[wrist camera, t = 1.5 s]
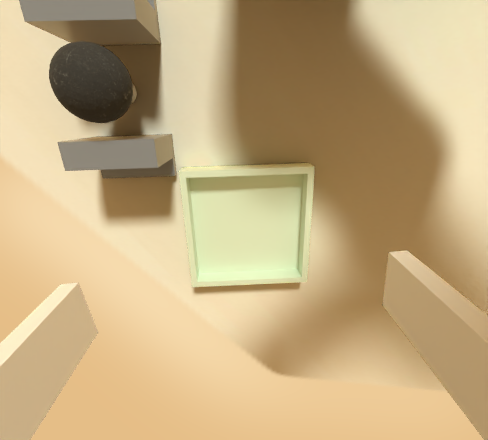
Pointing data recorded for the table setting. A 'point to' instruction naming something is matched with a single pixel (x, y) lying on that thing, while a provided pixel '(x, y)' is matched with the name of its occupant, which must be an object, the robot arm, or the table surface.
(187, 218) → the tray
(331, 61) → the table surface
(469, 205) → the table surface
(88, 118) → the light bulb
